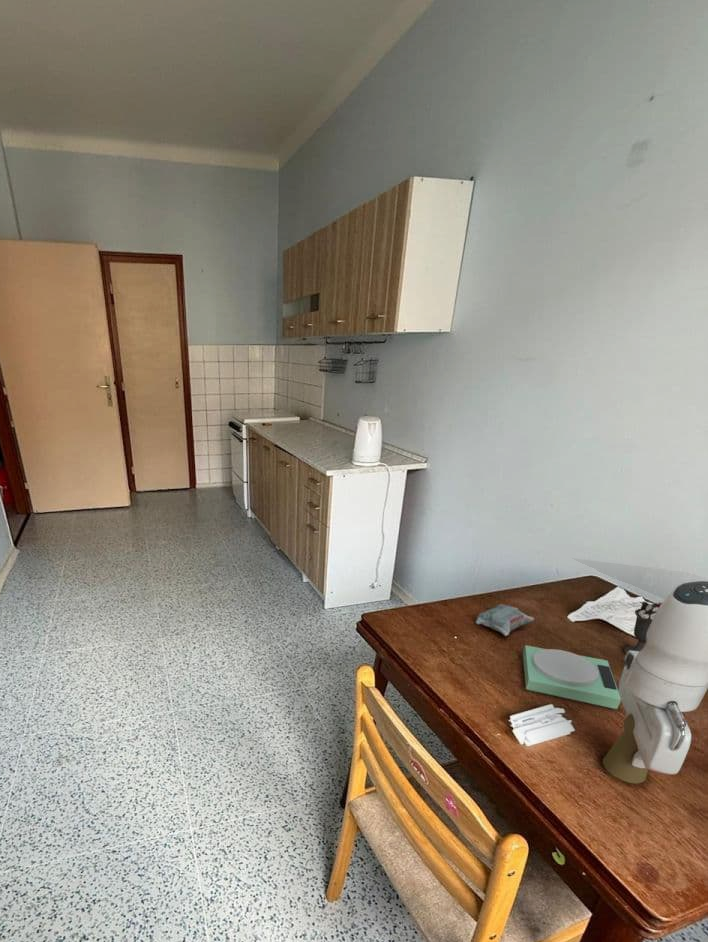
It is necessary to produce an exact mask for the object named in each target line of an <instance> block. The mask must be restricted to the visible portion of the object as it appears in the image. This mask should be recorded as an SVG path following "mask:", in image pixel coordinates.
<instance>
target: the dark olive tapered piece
mask: <svg viewBox="0 0 708 942" xmlns="http://www.w3.org/2000/svg"><path fill="white" fill-rule="evenodd" d="M634 727H635V721H634V717H633V715H632V714H629V715H628V716H627V717H626V716H625V718H624V720H623V730H624V731H623V730H622V732H623V733H622V732H621V734H620V735H619V736H618V738H617V739H616V741H615V742H614V744H613V745H612V746H611V747H610V749H609V750H608V751H607V753H606V754H605V756H604V757H603V759H602V764H603V768H604V769H605V770H606V771H607V772H608V773H609V774H610V775H612V776H613V777H615V778H616V779H618V780H620V781H623V782H625V783H629V784H641V783H644V782H645V781H646V779H647V776H648V772H649V769H647V768H646V767H645V768H639V767H635V766H633V765H632V763H631V759H630V757H631V756H632V753H633V751H634V752H638V751H639V750H638V746H637V743H636V740H635V737H634V734H633V730H634Z"/></svg>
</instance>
